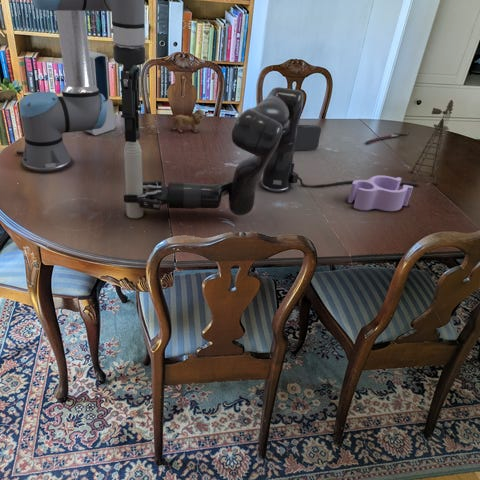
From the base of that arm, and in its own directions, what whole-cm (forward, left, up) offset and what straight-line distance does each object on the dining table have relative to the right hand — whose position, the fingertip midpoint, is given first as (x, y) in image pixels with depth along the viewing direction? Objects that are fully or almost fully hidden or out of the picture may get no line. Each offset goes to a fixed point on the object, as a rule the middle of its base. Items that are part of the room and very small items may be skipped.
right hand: (125, 194), depth 133 cm
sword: (-131, -20, -7) cm, 132 cm away
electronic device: (-13, -68, -7) cm, 69 cm away
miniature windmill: (-112, +16, -7) cm, 113 cm away
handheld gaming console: (-79, -24, -7) cm, 83 cm away
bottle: (-2, +1, -7) cm, 7 cm away
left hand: (-2, +1, +17) cm, 17 cm away
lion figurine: (-48, -57, -7) cm, 74 cm away
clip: (-79, +24, -7) cm, 83 cm away
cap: (-2, +1, +19) cm, 19 cm away
